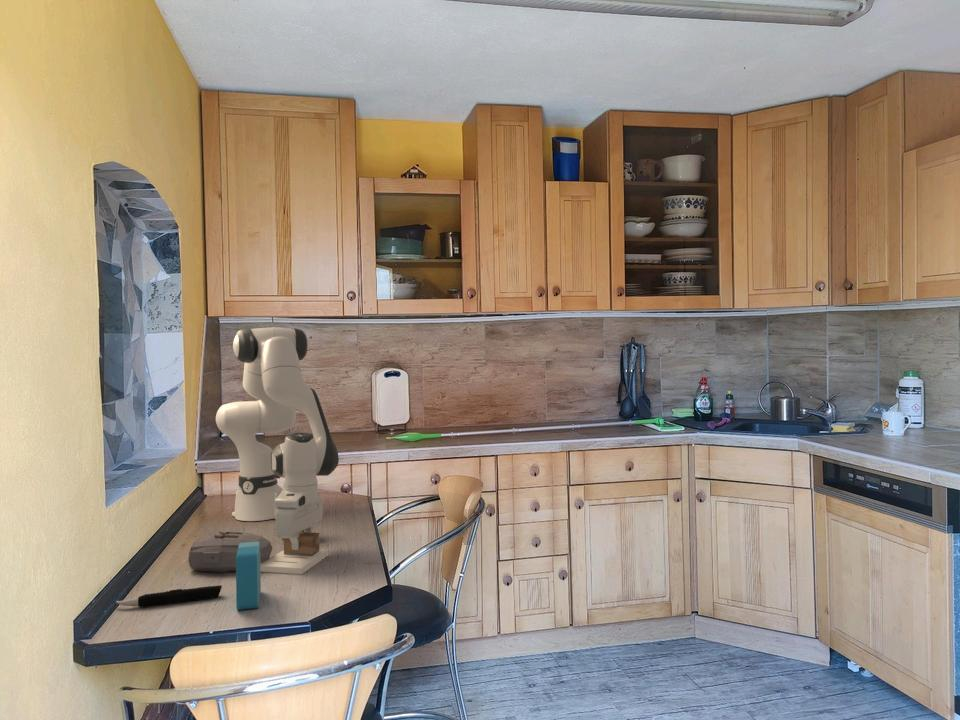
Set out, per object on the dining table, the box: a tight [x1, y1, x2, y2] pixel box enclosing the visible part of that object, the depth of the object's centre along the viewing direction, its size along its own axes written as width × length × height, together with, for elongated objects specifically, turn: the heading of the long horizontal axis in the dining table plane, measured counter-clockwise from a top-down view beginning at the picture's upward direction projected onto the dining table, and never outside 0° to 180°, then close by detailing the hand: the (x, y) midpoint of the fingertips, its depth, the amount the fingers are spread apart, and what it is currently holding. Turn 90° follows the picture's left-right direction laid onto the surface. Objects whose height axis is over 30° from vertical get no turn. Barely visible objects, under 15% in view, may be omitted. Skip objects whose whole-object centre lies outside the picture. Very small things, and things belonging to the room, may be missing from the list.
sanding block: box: [283, 531, 320, 556], centre depth 181 cm, size 4×8×5 cm, turn 78°
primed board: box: [260, 548, 330, 575], centre depth 177 cm, size 16×12×2 cm
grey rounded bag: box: [188, 531, 273, 573], centre depth 176 cm, size 15×8×20 cm
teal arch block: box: [235, 542, 262, 611], centre depth 150 cm, size 12×4×12 cm, turn 16°
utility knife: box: [116, 585, 223, 608], centre depth 150 cm, size 22×4×3 cm, turn 112°
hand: (301, 545), depth 181 cm, fingers closed on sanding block, 4 cm apart
